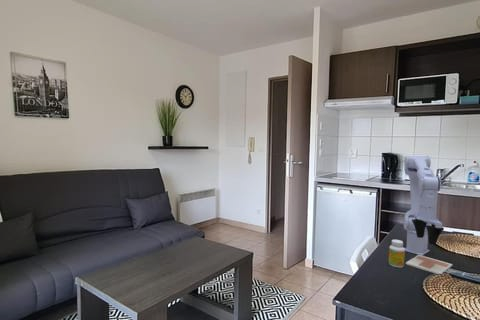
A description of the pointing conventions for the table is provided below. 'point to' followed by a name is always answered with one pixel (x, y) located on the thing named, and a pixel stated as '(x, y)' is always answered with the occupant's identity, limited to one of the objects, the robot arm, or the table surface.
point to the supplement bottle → (396, 254)
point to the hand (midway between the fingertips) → (426, 240)
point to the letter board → (429, 264)
